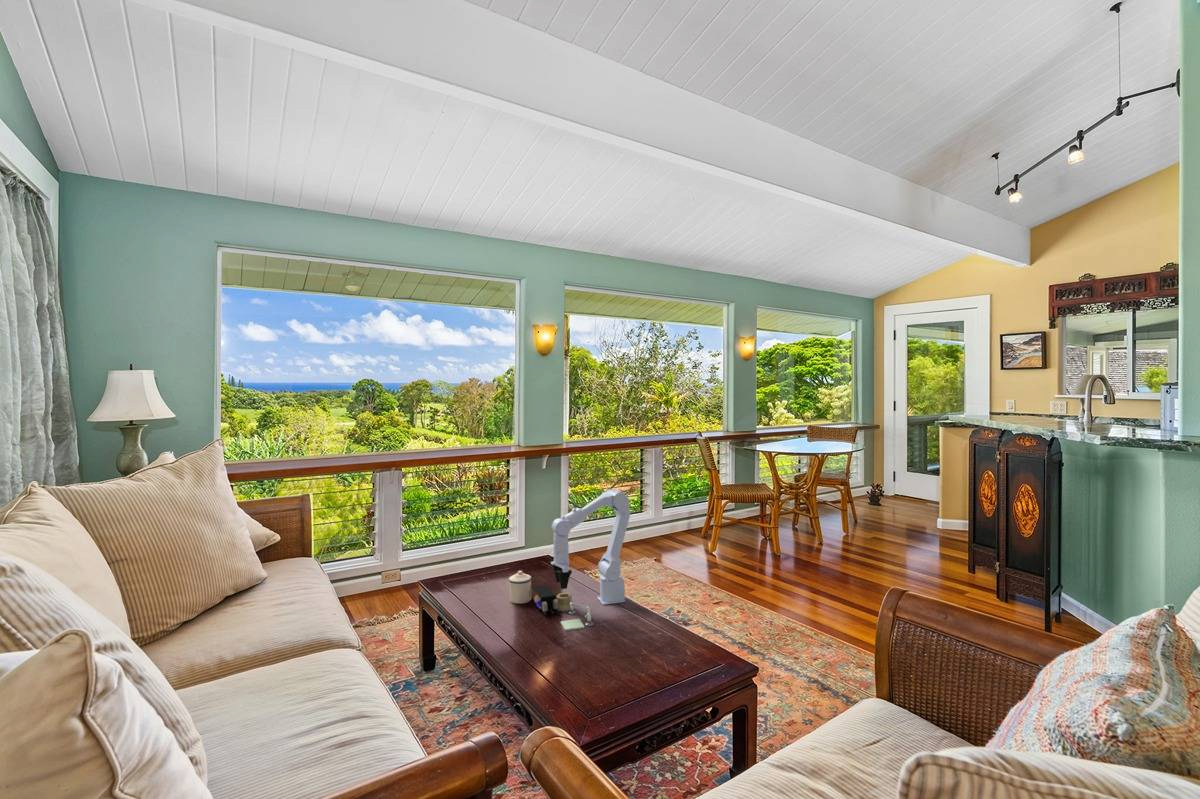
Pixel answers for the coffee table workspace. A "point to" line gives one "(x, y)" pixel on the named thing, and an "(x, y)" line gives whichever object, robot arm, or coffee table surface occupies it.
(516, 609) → the coffee table surface
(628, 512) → the robot arm
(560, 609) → the maple ring
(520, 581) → the teacup with lid
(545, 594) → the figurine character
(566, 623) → the pad
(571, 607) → the grey piece
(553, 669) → the coffee table surface
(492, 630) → the coffee table surface
